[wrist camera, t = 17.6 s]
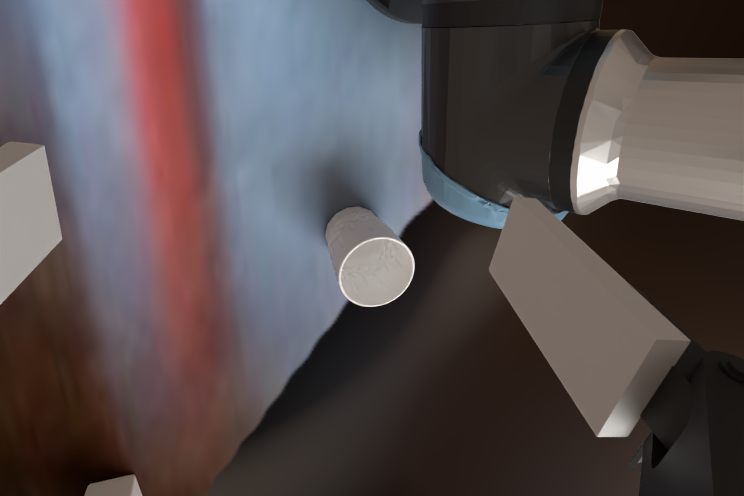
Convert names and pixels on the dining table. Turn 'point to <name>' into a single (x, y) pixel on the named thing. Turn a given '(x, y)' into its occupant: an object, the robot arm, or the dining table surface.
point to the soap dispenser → (115, 487)
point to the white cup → (368, 257)
